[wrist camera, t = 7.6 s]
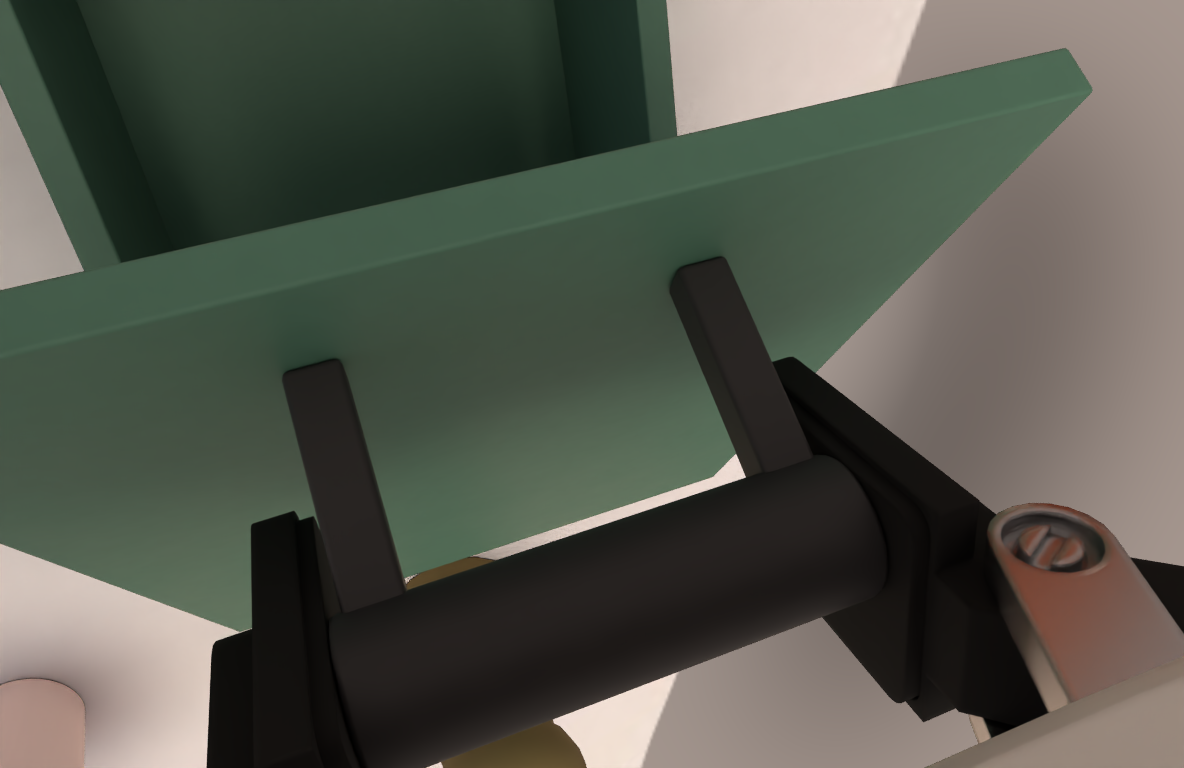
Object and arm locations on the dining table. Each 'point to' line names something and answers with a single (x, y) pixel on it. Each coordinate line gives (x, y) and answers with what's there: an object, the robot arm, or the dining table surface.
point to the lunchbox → (313, 104)
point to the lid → (509, 403)
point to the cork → (528, 758)
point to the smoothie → (41, 725)
